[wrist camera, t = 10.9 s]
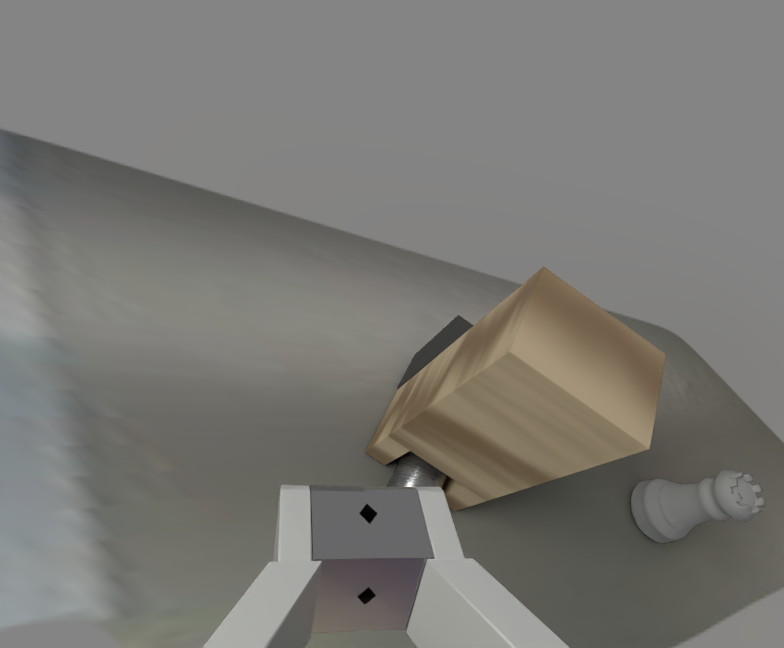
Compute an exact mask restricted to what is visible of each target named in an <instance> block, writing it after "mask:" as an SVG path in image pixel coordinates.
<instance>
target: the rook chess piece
mask: <svg viewBox="0 0 784 648" xmlns="http://www.w3.org/2000/svg"><path fill="white" fill-rule="evenodd" d="M753 478H754V477H753V476H751V475H750V474H749V473H746V474H743V472H738V473H737V472H735V471H733V470H729V469H725V470H722V471H720V473H719V474H718V476H717V478H716V479H714V478H709V477H707V478H704V479H703V480H702V481H701V482H700V483H693V484H678V483H674V482H670V481H668V480H663V479H653V480H650V481H649V480H645V481H642V482H639V483H638V484H637V486H636V487H635V488H634V490H633V492H632V496H631V501H630V505H631V513H632V516H633V518H634V520H635V523H636V524H637V526H638V527H639V528H640V530H641V531H642V532H643V533H644V534H646V535H647V536H648V537H650V538H651V539H653V540H654V541H656V542H660V543H668V542H670V541H676V540H678V539H681V538H683V537H685V536H686V535H687V533H688V532H689V531H691V530H692V529H693V527H694V526H695V525H697V524H700V523H703V522H706V521H708V520H715V519H716V520H718V521H726V520H728V519H729V517H730V516H731V517H733V518H735V519H736V520H738V521H743V522H747V521H749V520H751V519H752V518H753V516H754V514H757V513H760V512H762V510H761V509H760V507H764V506H765V499H763V498H757V494H756V493H757V492H762V491H763V490H762V488H761V486H760V485H759V484H755V485H752V484H751V483H750V482H749V481H753Z"/></svg>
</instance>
